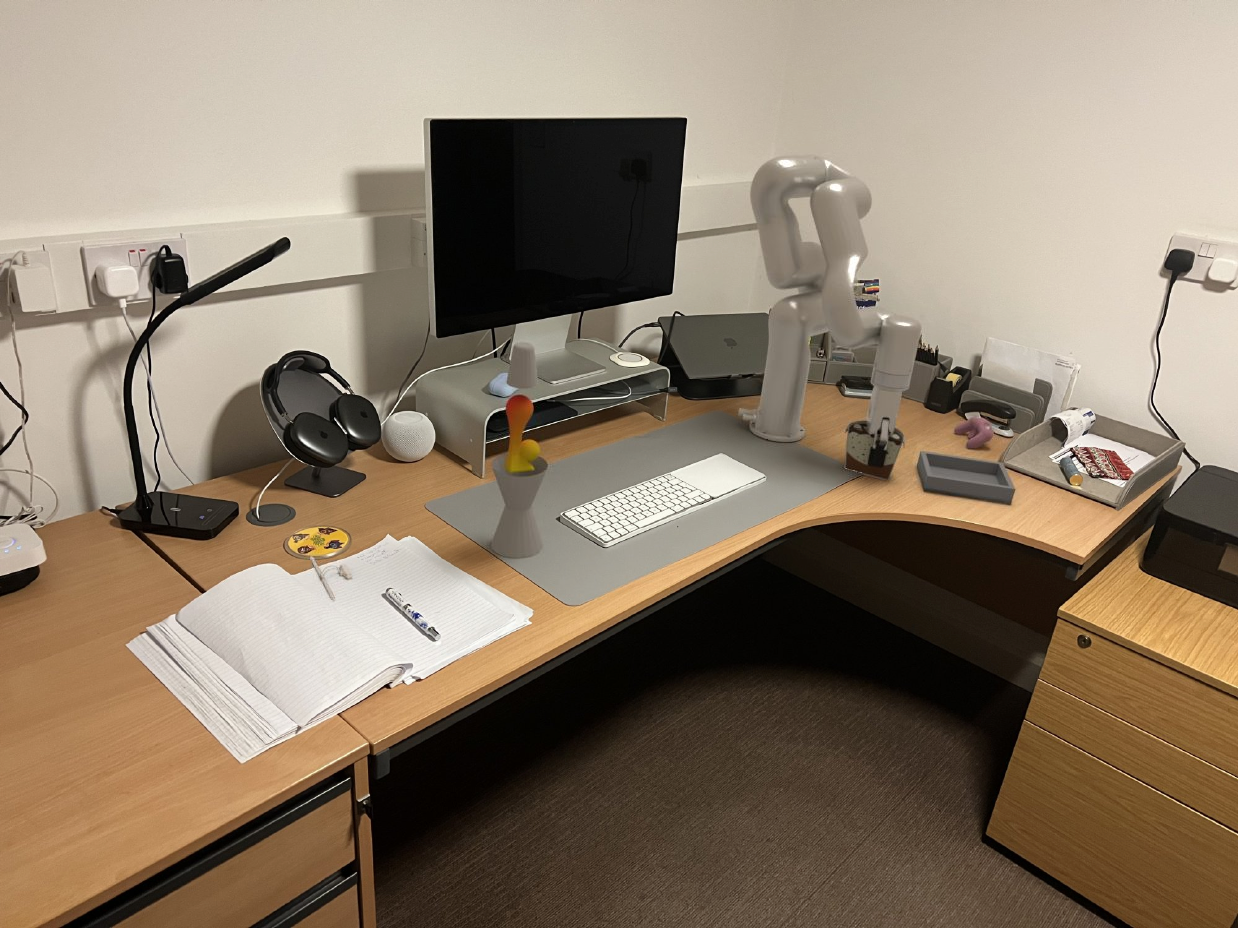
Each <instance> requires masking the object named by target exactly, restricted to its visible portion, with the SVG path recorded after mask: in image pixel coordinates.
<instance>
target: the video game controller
mask: <svg viewBox="0 0 1238 928" xmlns="http://www.w3.org/2000/svg"><path fill="white" fill-rule="evenodd" d="M953 432H954V433H953V434H955V435H963V434H966V433H968V434H967V437H968V438H969V440H967V442H966V443H965V447H966V448H967V449H968V450H969V449H976V448H977V449H978V448H979V447H981V446H983V445H984V444H986V443H988V442H990V441H991V440H992V438H993V437H994V433H995V432H994V430H993V427H992V424H991V423H990V421H989V420H988V419H985V418H984V417H981V416H978V415H975V416H972V417H970V418H968V419H967V420H965V421H963V422H961V423H960V424H958V425H956V427H954V429H953Z"/></svg>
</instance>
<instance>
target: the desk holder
mask: <svg viewBox="0 0 1238 928" xmlns="http://www.w3.org/2000/svg"><path fill="white" fill-rule="evenodd" d="M916 467H917V471H918V475H919V479H920V482H921V486H922V490H923V492H925V493H932V494H938V495H944V496H950V497H958V498H964V499H972V500H975V501H976V500H977V501H985V502H990V503H997V504H1003V505H1012V502H1013V499H1014V495H1015V492H1016V486H1015V485H1014V484H1013V481H1012V479H1011V476H1010V475H1009V473H1008V471H1007V469H1006V466H1005V464H1004V463H1003V462H1002V461H1001V462H1000V461H999V462H998V461H992V460H986V459H979V458H974V457H967V456H958V455H953V454H945V453H939V452H932V451H925V450H920V452H919V455H918V459H917V464H916Z"/></svg>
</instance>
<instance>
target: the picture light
mask: <svg viewBox="0 0 1238 928" xmlns="http://www.w3.org/2000/svg"><path fill="white" fill-rule="evenodd" d="M309 559H310V562H311V564H312V566H313V568H314V570H315V572H316V573H317V575H318V577H319V579H320V581H321V584H322V585H323V587H324V589H325V591H326V592H327V595H328V596H329V599H330V598H331V599H330V600H331V601H332V600H333V601H332V602H336V596H335V595H334V593H333V591H332V590H331V588H330V586H329V584H328V582H327V580H326V578H325V575H326V574H327V572H328V571H330V570H336V571H338V574H339V575H340V577H344V578H345V579H346V580H347V581H348V580H353V575H352V572H351V571H350V570H349V567H348V565H347V563H343V564H340V569H339V567H338V566H335V565H329V566H326V567H325V568H323V570H321V569H320V566H319V565H318V564H317V561H316V558H314V557H313V556H311V555H310V557H309ZM330 567H332V568H330ZM328 568H329V569H328ZM326 569H327V570H326ZM325 570H326V571H325ZM324 571H325V572H324Z"/></svg>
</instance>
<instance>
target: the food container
mask: <svg viewBox="0 0 1238 928" xmlns="http://www.w3.org/2000/svg"><path fill="white" fill-rule="evenodd" d="M846 433H847V437H846V443H845V444H846V445H845V454H844V455H845V456H844V457H845V458H844V467H843V469H844V468H847V469H849V470H855V471H857V472H862V473H863V474H862V475H864V476H869V477H871V478H876V479H880V480H883V481H886V482H889V481H890V479H891V476H892V472H893V470H894V467H895V465H896V462H897V459H898V456H899V454H900V452H901V451H900V450H901V448H903V449H905V447H906V446H905V445H906V442H905V441H906V438H905V434H904V433H903V431H901V430H900V429H898V428H897V427H895V429H894V432H893V435H892V436H891V437H888V444H887V452H886V457H885V462H884V466H883V467H875V466H869V465H868V458H869V453H870V448H871V447H872V446H873V439H874V434H871V435H870V434H869V433H868V431H867V425H866V420H855V421H852V422H850V423H848V425H847V426H846V428H845V431H844V434H846ZM877 434H881V431H877ZM878 439H880V437H877V440H878ZM902 444H903V445H902ZM849 470H848V471H849ZM857 472H856V473H857Z"/></svg>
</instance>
